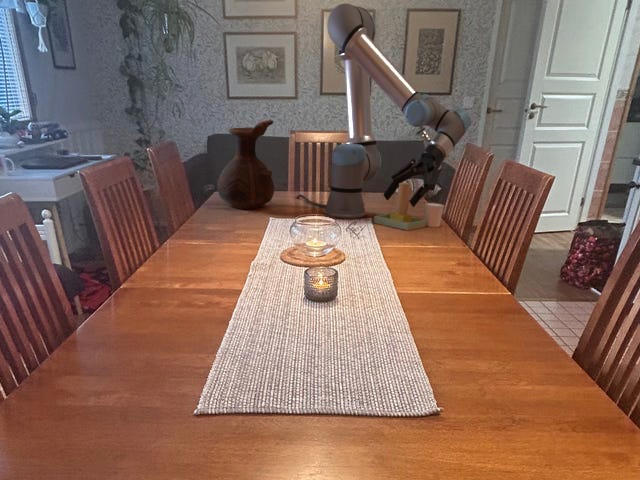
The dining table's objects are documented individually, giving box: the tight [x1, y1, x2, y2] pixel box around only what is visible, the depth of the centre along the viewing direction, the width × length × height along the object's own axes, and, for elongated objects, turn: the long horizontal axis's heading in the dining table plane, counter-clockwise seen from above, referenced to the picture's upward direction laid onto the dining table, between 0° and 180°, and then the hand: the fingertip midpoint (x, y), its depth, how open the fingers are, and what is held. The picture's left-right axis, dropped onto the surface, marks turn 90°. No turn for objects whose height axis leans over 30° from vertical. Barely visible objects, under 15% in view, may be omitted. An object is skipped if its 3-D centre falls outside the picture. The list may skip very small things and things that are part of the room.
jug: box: [216, 119, 276, 210], centre depth 222 cm, size 22×22×30 cm
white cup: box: [423, 202, 445, 228], centre depth 210 cm, size 7×7×7 cm
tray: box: [373, 213, 427, 231], centre depth 210 cm, size 15×10×2 cm
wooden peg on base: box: [389, 182, 413, 223], centre depth 209 cm, size 6×5×12 cm
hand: (398, 200), depth 206 cm, fingers open, 13 cm apart
